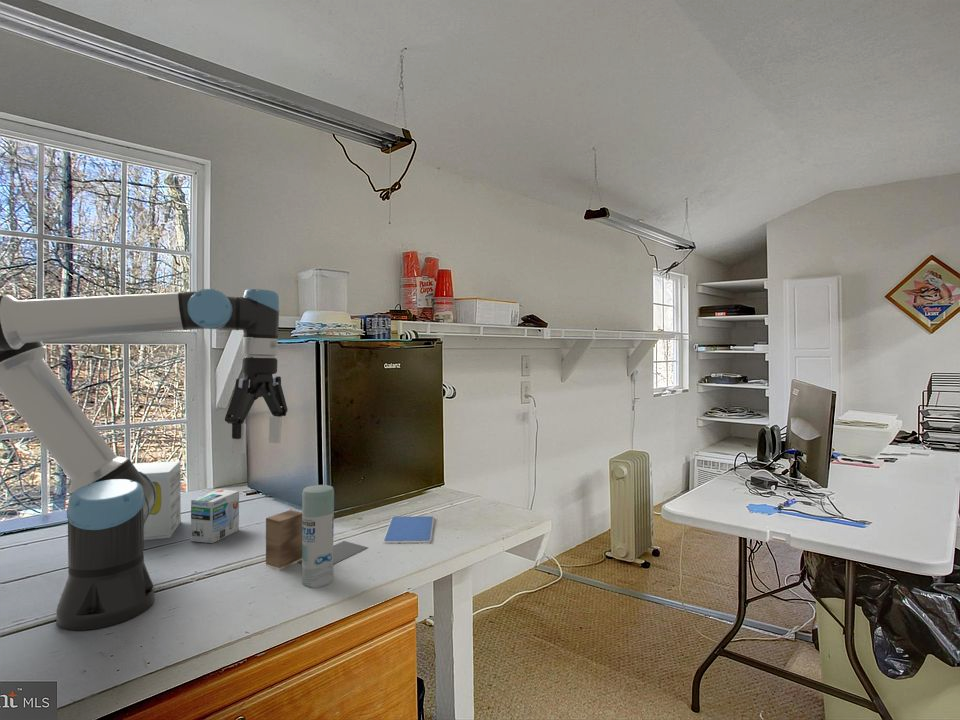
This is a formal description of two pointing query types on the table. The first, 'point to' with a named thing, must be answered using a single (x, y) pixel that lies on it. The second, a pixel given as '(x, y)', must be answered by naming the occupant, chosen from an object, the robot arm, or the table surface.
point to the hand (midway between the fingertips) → (257, 447)
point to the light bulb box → (214, 516)
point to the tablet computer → (409, 530)
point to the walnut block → (283, 539)
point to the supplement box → (163, 498)
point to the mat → (344, 551)
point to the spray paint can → (317, 535)
